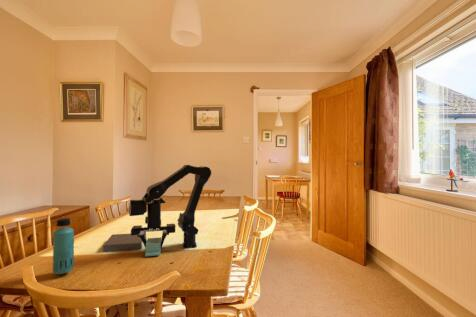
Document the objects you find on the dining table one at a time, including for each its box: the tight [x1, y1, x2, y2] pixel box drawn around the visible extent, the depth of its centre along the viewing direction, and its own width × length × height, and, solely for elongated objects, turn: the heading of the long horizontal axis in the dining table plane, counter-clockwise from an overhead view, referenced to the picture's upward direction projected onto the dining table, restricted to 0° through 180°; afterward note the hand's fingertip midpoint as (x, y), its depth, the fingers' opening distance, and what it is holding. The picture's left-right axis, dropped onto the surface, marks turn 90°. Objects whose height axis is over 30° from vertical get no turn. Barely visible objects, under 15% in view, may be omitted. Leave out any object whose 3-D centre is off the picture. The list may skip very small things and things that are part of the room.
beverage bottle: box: [52, 217, 75, 275], centre depth 91 cm, size 6×7×20 cm
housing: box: [144, 236, 162, 257], centre depth 113 cm, size 12×6×5 cm, turn 14°
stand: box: [102, 232, 143, 253], centre depth 122 cm, size 16×16×3 cm
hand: (153, 248), depth 113 cm, fingers closed on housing, 6 cm apart
